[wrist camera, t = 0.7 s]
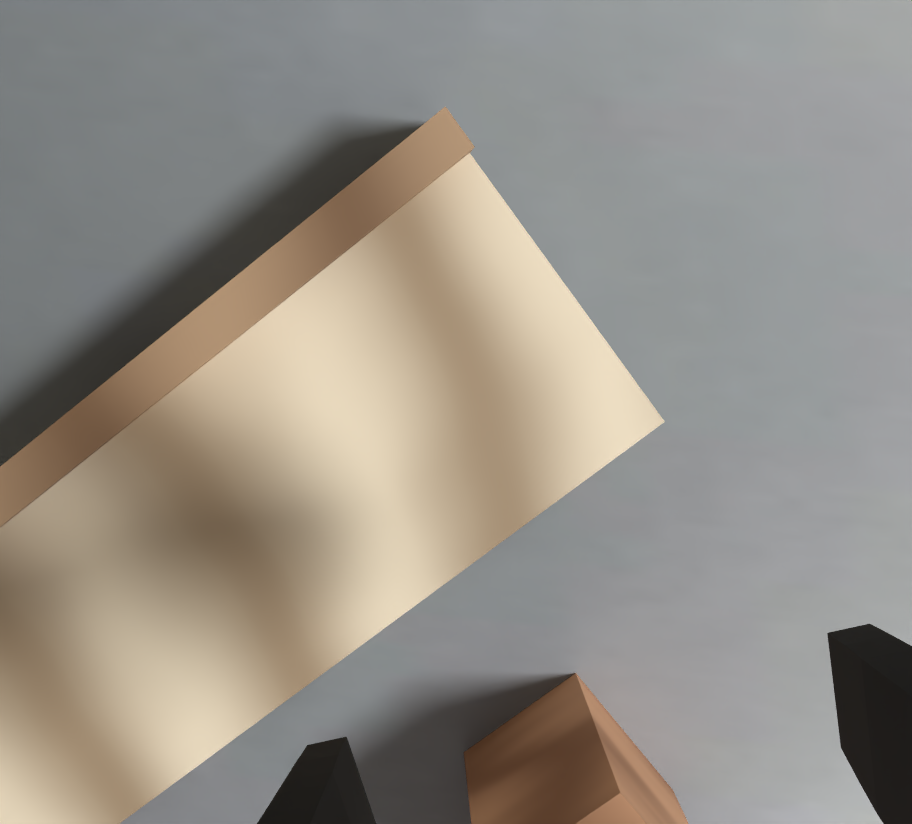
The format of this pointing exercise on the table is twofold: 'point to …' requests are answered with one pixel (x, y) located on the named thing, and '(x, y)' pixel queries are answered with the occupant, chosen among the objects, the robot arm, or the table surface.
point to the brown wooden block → (565, 768)
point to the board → (288, 479)
